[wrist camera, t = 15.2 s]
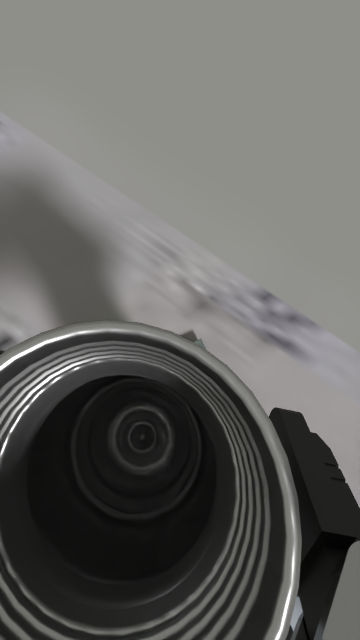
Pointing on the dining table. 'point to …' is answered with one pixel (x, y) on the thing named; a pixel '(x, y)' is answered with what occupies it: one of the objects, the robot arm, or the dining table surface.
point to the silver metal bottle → (140, 493)
